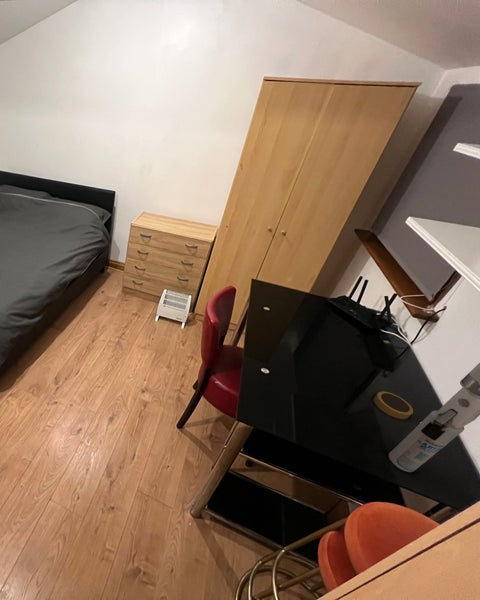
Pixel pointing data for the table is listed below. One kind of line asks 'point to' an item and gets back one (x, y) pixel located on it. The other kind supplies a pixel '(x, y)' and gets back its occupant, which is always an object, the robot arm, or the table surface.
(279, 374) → the table surface
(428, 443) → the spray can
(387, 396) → the stand
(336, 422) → the table surface
